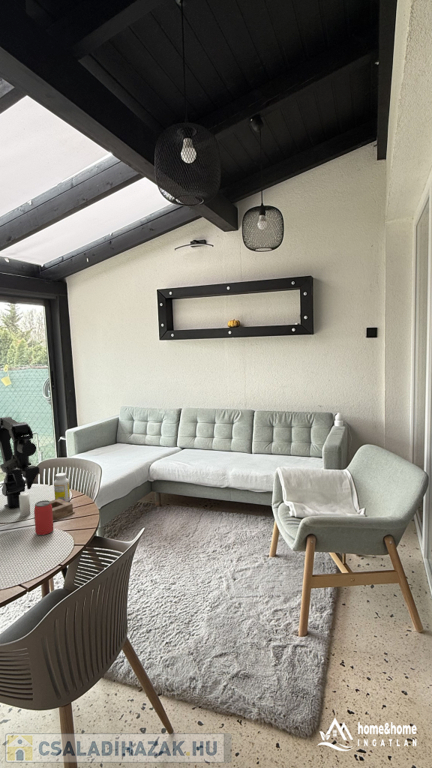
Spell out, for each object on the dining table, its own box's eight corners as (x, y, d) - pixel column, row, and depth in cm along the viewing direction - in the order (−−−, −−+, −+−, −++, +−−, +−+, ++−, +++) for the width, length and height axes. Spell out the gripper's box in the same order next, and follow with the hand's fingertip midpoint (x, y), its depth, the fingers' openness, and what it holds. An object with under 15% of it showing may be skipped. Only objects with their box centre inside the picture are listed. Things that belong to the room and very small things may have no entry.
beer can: (47, 536, 160) (45, 506, 159) (32, 535, 162) (30, 505, 160) (56, 529, 167) (55, 500, 165) (42, 527, 168) (40, 499, 167)
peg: (18, 515, 181) (17, 495, 180) (27, 512, 184) (26, 492, 183) (23, 517, 179) (21, 497, 178) (32, 514, 182) (30, 494, 181)
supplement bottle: (64, 496, 202) (63, 471, 200) (72, 499, 198) (71, 473, 196) (52, 501, 196) (50, 475, 195) (60, 504, 192) (58, 477, 191)
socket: (34, 515, 180) (33, 506, 180) (59, 506, 190) (59, 497, 189) (49, 522, 173) (48, 512, 173) (74, 512, 182) (74, 503, 182)
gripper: (-9, 453, 178) (-6, 488, 180) (13, 459, 167) (15, 497, 168) (17, 447, 187) (20, 481, 188) (39, 453, 175) (41, 489, 177)
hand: (23, 487), depth 180 cm, fingers open, 9 cm apart
